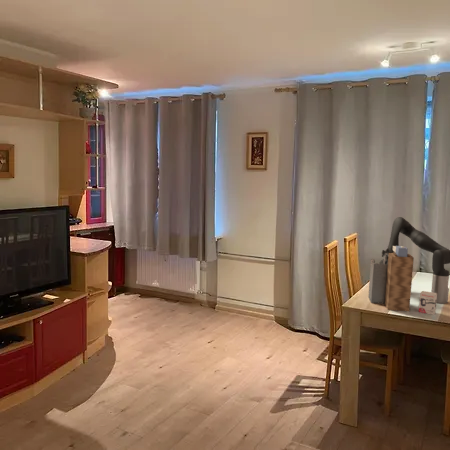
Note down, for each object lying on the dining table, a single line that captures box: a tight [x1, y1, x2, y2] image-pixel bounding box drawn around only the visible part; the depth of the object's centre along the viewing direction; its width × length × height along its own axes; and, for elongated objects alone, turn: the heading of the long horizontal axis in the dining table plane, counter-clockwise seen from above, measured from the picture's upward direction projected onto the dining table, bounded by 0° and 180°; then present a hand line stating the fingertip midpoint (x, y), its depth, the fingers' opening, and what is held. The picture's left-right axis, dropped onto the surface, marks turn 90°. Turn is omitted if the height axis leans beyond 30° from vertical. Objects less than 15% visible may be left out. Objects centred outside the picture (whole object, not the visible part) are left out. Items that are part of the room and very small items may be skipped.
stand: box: [384, 252, 414, 312], centre depth 277 cm, size 12×11×33 cm
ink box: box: [418, 290, 437, 316], centre depth 272 cm, size 8×5×12 cm, turn 56°
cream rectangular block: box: [393, 245, 409, 257], centre depth 281 cm, size 5×22×6 cm, turn 170°
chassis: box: [367, 258, 388, 305], centre depth 293 cm, size 10×15×25 cm, turn 170°
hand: (395, 250), depth 292 cm, fingers open, 8 cm apart
